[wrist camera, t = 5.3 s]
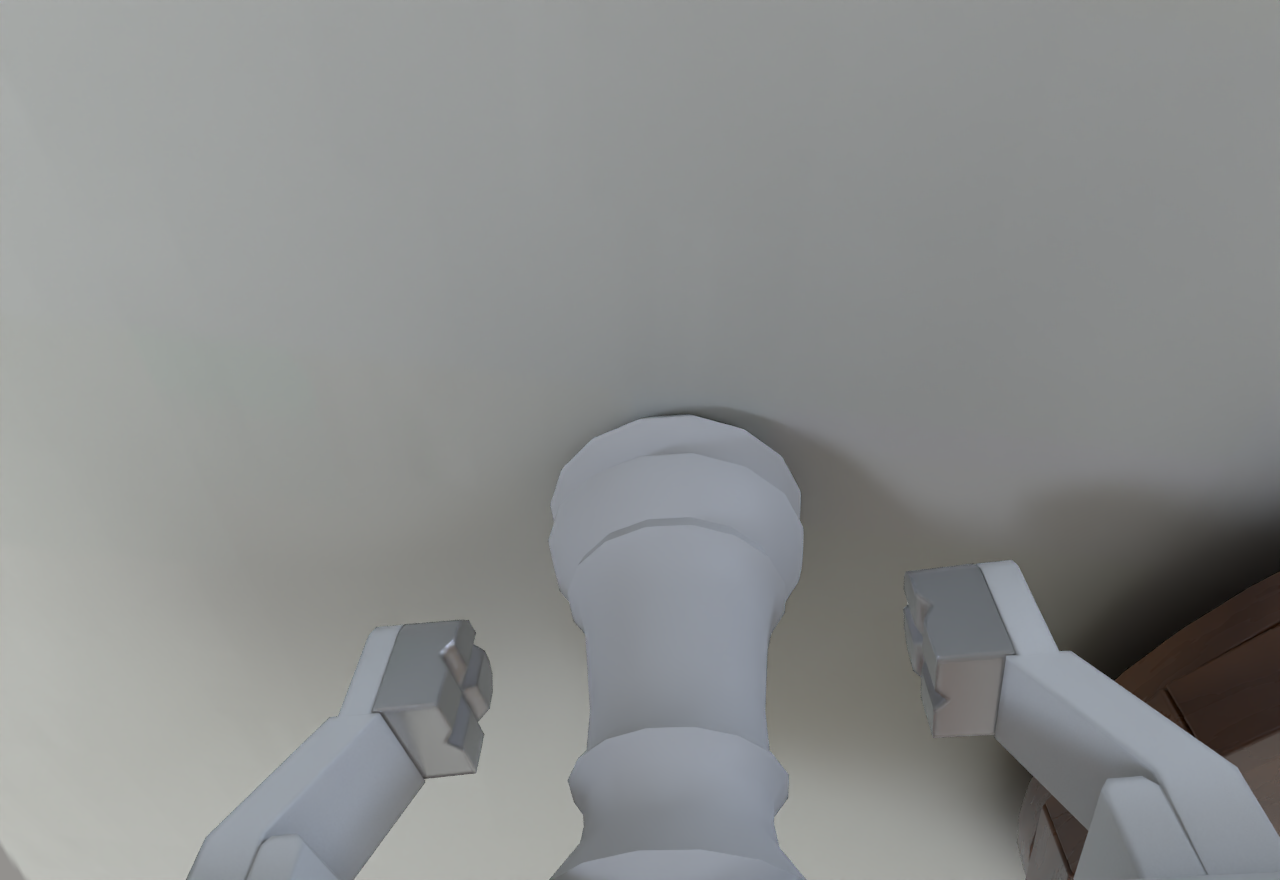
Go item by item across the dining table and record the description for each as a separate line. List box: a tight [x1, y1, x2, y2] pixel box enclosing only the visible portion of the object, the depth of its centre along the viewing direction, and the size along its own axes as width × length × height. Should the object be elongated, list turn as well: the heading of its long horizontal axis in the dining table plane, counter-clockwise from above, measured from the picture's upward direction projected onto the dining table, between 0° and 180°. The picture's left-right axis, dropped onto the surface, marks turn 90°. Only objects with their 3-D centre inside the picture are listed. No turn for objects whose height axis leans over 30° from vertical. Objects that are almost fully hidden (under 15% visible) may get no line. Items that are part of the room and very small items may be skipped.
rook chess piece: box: [548, 414, 806, 880], centre depth 11 cm, size 4×4×8 cm
